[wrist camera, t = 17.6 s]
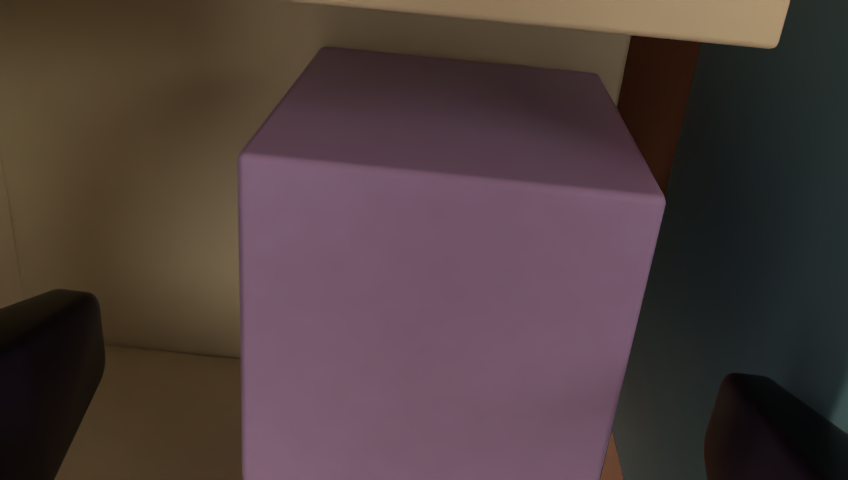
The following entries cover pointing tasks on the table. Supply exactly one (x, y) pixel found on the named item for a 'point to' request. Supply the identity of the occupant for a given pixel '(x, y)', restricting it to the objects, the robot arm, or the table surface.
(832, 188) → the drawer
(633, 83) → the table surface
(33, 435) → the robot arm
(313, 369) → the mauve rounded cube
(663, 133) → the table surface
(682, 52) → the table surface
